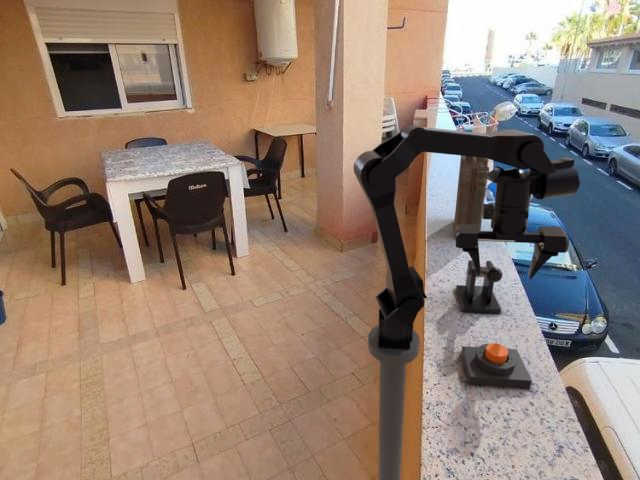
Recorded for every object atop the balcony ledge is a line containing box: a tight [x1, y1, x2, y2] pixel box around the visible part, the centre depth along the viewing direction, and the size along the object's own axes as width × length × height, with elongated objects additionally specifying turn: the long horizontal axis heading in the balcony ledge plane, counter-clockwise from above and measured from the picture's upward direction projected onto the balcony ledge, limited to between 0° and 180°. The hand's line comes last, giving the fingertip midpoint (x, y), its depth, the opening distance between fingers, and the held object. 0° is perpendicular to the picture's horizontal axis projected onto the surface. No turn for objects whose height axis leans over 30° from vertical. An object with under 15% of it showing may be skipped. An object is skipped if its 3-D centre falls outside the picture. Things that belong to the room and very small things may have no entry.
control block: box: [460, 343, 532, 390], centre depth 68 cm, size 10×8×4 cm
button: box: [485, 342, 508, 364], centre depth 67 cm, size 4×4×2 cm
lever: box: [476, 265, 503, 283], centre depth 81 cm, size 13×3×3 cm, turn 170°
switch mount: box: [455, 259, 502, 315], centre depth 87 cm, size 10×8×10 cm
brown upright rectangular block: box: [453, 155, 490, 238], centre depth 123 cm, size 19×8×25 cm, turn 161°
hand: (503, 276), depth 74 cm, fingers open, 9 cm apart
